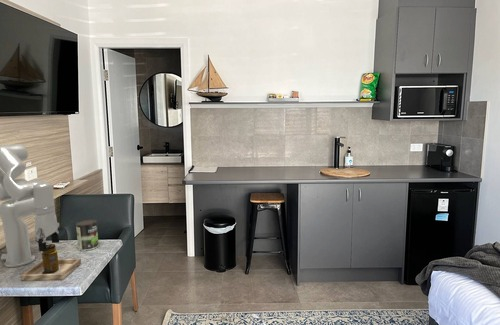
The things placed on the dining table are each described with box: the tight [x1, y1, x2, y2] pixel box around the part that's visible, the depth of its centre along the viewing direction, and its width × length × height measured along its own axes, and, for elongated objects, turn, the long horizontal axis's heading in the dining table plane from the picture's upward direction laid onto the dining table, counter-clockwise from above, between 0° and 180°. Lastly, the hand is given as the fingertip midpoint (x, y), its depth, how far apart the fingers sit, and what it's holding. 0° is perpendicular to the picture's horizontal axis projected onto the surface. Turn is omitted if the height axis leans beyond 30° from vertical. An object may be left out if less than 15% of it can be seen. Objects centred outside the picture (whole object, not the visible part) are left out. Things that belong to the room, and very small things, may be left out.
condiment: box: [41, 243, 61, 274], centre depth 156 cm, size 7×8×12 cm
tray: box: [20, 258, 82, 282], centre depth 158 cm, size 18×16×2 cm
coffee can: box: [75, 219, 100, 252], centre depth 185 cm, size 10×10×14 cm
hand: (49, 246), depth 156 cm, fingers open, 9 cm apart
